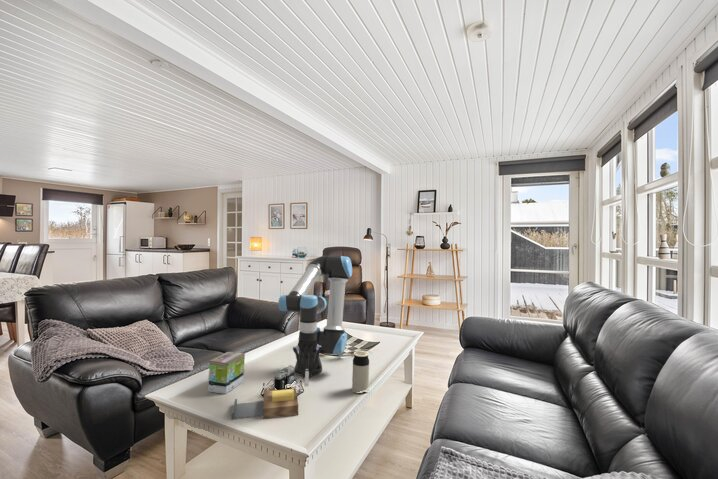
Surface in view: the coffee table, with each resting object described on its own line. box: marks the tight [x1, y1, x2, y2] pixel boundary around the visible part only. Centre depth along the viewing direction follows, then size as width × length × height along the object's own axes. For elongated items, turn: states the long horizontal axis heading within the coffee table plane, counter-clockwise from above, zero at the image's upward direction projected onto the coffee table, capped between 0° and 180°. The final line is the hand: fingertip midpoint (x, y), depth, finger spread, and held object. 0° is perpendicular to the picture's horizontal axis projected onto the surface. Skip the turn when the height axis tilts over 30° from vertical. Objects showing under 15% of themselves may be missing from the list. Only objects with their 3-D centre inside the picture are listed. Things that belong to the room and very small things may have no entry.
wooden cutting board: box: [262, 388, 299, 420], centre depth 142 cm, size 14×16×4 cm
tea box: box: [207, 351, 246, 395], centre depth 161 cm, size 15×10×15 cm, turn 168°
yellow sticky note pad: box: [271, 388, 294, 402], centre depth 143 cm, size 9×6×2 cm, turn 104°
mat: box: [231, 398, 264, 420], centre depth 139 cm, size 12×12×2 cm
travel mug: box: [351, 350, 370, 393], centre depth 161 cm, size 8×8×18 cm
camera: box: [273, 364, 297, 390], centre depth 160 cm, size 15×7×10 cm, turn 161°
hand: (306, 385), depth 145 cm, fingers closed
